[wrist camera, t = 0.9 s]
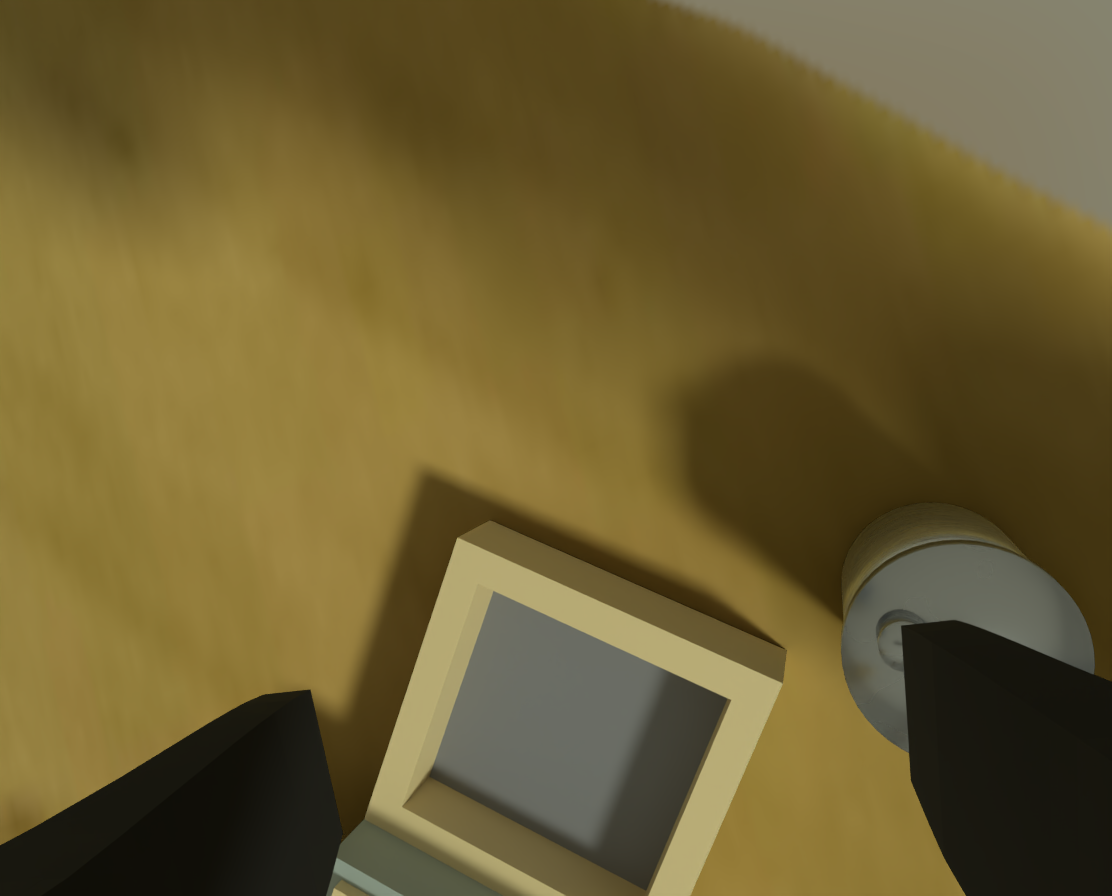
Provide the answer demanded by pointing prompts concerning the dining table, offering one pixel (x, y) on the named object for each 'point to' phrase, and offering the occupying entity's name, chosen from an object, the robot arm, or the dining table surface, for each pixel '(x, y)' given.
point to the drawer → (559, 735)
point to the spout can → (943, 600)
